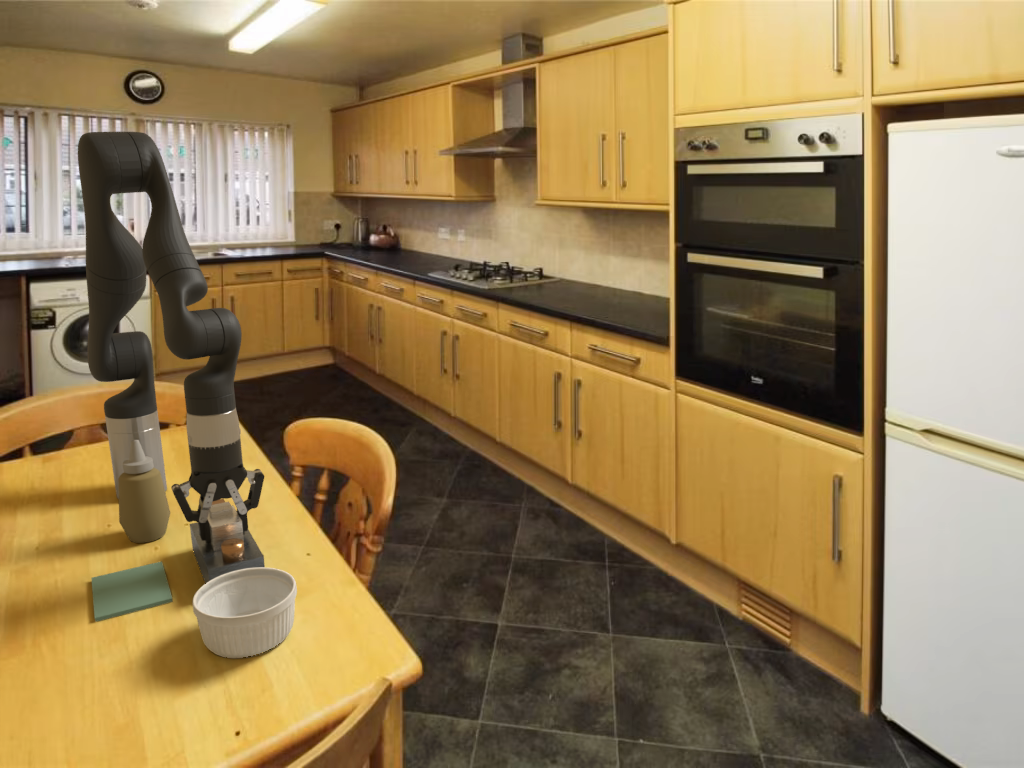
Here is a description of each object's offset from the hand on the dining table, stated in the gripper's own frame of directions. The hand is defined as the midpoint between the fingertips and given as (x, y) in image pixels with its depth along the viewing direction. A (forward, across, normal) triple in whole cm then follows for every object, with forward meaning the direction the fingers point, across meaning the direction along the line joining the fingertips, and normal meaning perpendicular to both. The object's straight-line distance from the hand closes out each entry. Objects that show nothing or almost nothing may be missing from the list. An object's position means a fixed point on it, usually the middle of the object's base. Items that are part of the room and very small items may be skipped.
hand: (224, 537), depth 113 cm
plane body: (+5, 0, 0) cm, 5 cm away
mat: (+5, +14, 0) cm, 15 cm away
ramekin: (+6, +1, +21) cm, 22 cm away
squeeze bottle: (+6, +10, -19) cm, 22 cm away
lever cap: (0, 0, 0) cm, 0 cm away
